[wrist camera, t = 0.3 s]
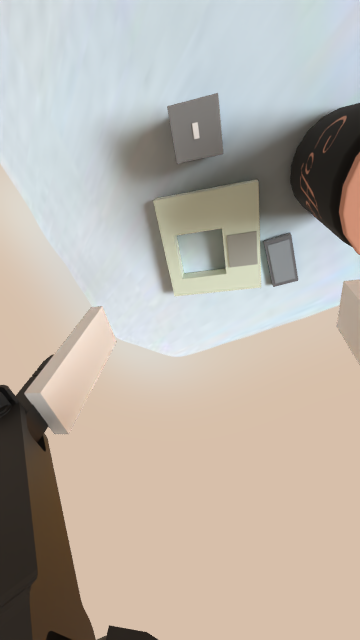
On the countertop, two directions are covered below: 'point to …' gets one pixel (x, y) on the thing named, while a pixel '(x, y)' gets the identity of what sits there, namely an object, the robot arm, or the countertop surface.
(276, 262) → the phone
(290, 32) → the countertop surface
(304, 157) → the coffee jar
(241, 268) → the outlet plate
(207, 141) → the block
